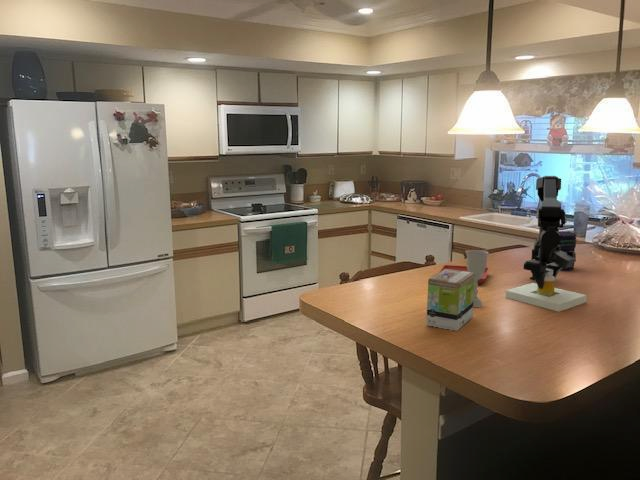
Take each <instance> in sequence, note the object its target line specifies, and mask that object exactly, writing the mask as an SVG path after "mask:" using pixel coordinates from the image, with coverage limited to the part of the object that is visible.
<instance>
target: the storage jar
mask: <svg viewBox="0 0 640 480" xmlns="http://www.w3.org/2000/svg"><path fill="white" fill-rule="evenodd" d="M559 235H560V238H561V241H560V244H559V246H560V247H561V251H563V252H566V253H568V252H569V251H573V252H575V253H576V251H575V250H576V249H575V248H576V246H577V233H576V232H571V231H560V230H559ZM575 263H576V262H573V264H572V266H571V267H568V268H562V269H561V270H559V271H558V272H572V271H574V270H575V267H574V266H575Z"/></svg>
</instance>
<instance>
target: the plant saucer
mask: <svg viewBox="0 0 640 480" xmlns="http://www.w3.org/2000/svg"><path fill="white" fill-rule="evenodd" d="M489 268H490V267H487V266H486V269H485V272H484V273H483V275H482V277H481V279H479V280H478V281H477V284H478V285H481V284H482V283H483V282H484V281H485V280H486V277H487V275H488V272H489ZM444 269H450V270H458V271H466V272H468V269H467V265H451V264H444V265H442V267H441V269H440V270H439V271H438V273H439V272H441V271H443V270H444Z"/></svg>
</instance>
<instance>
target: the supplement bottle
mask: <svg viewBox="0 0 640 480" xmlns="http://www.w3.org/2000/svg"><path fill="white" fill-rule="evenodd" d="M546 270H548V271H549V272H548V273H546V274H545V279H544V285H543V289H539V287H538V285H537V294H539V295H543V296H547V297H550V296H554V288H556V287H555V285H556V278H555V277H554V276H552V275H553V270H552V269H547V268H546Z"/></svg>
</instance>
